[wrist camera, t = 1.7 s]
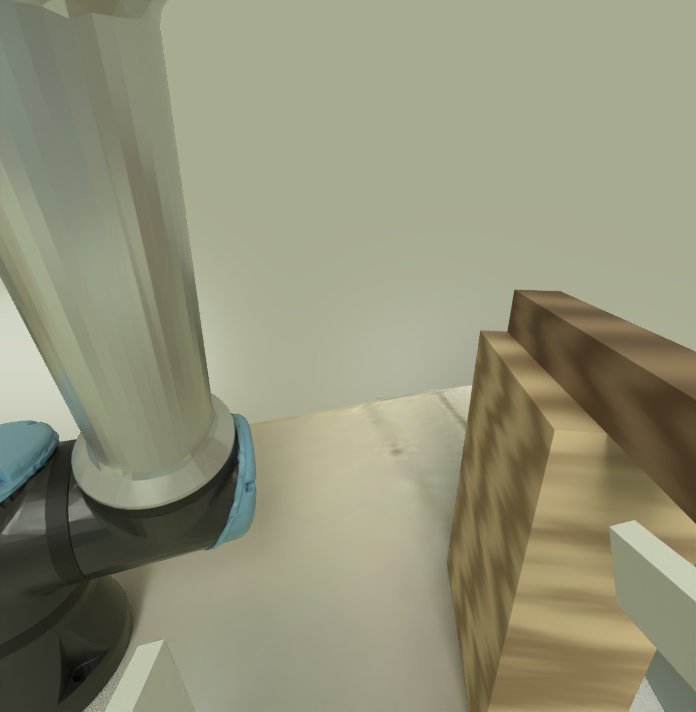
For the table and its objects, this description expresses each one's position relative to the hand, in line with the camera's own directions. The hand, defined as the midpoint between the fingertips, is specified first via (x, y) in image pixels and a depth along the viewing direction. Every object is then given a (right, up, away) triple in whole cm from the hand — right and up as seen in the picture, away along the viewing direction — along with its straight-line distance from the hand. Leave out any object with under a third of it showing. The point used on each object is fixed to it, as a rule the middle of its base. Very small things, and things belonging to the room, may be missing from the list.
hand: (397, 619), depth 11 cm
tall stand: (+14, -21, +27) cm, 37 cm away
